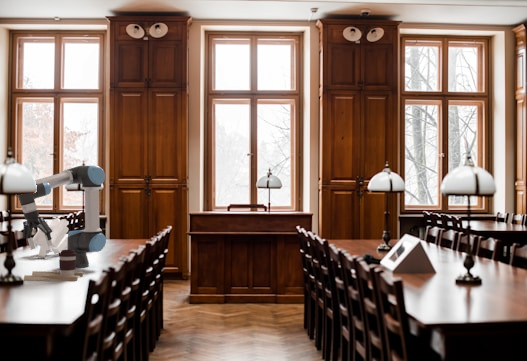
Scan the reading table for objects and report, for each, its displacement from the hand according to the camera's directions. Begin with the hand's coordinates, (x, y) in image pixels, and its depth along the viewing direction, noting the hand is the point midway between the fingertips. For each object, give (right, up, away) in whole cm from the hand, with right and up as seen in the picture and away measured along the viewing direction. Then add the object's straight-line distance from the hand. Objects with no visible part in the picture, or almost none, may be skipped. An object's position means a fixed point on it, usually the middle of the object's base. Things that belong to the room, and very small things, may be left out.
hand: (41, 247), depth 319 cm
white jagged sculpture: (-30, -17, +96) cm, 102 cm away
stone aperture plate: (+14, -17, +1) cm, 22 cm away
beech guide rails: (+7, -17, 0) cm, 19 cm away
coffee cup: (+14, -17, +1) cm, 22 cm away
